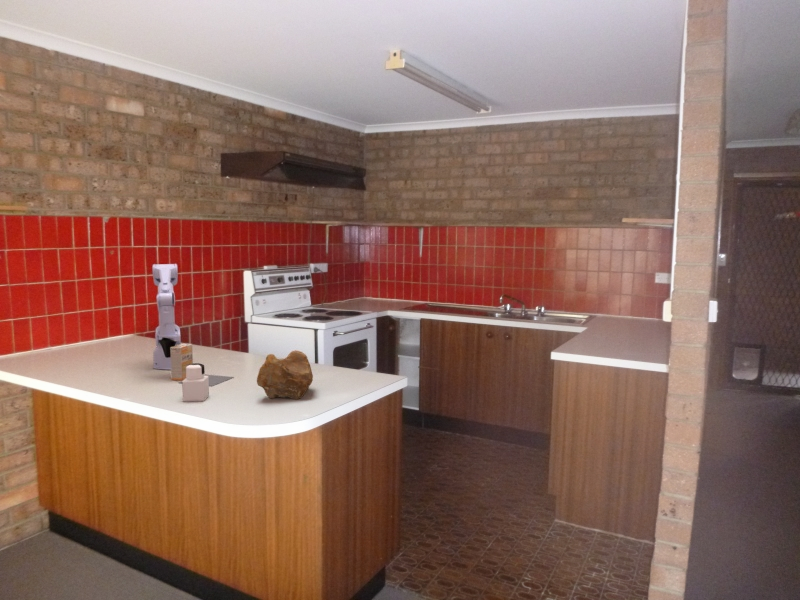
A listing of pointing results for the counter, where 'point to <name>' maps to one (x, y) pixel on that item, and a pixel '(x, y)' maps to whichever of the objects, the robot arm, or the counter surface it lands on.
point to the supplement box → (180, 360)
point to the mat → (216, 379)
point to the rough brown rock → (285, 375)
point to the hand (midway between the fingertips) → (168, 357)
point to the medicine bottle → (195, 383)
